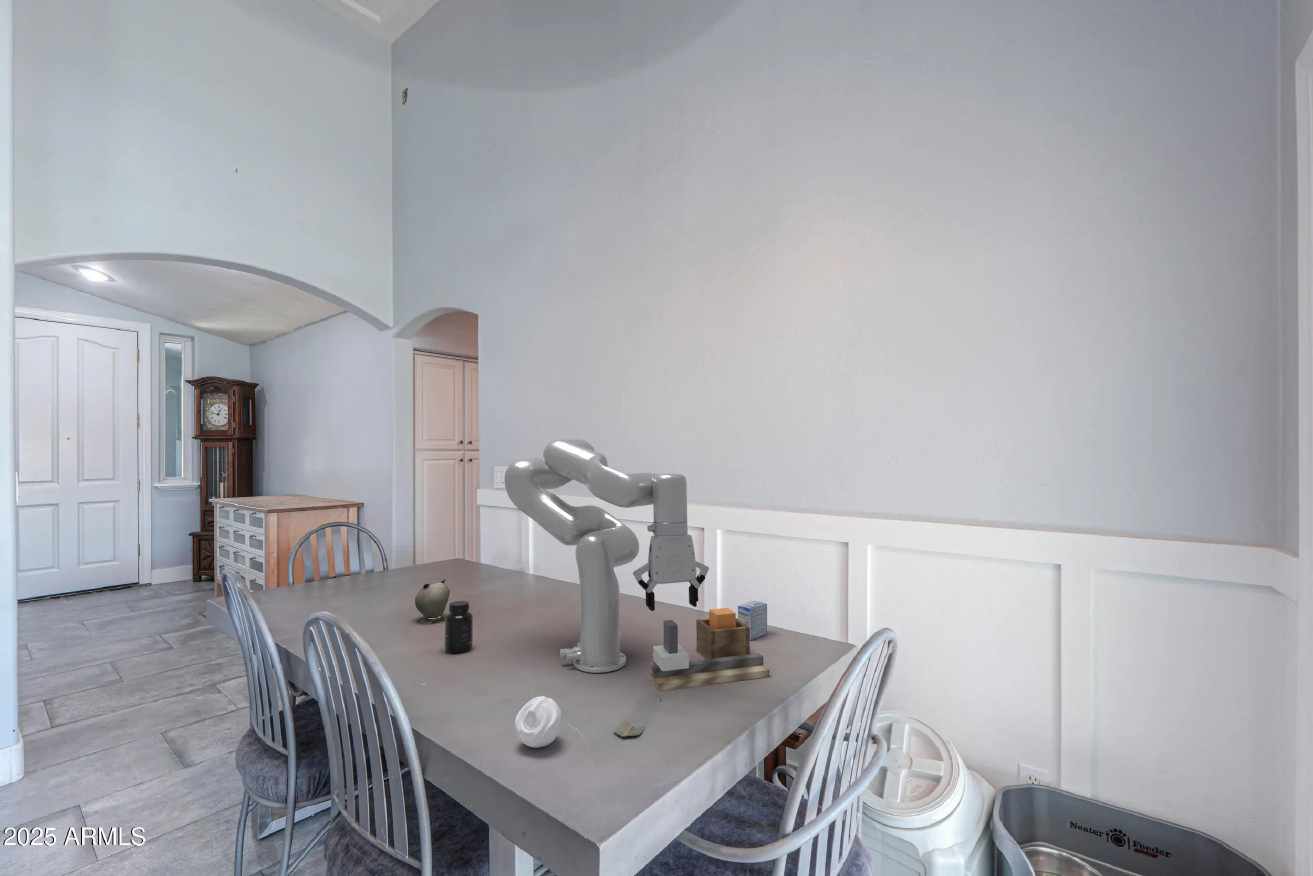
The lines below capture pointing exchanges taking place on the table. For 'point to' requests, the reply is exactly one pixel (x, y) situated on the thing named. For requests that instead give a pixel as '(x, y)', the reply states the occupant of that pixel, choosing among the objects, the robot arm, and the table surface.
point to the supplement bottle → (458, 628)
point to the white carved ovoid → (538, 722)
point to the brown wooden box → (722, 640)
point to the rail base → (710, 672)
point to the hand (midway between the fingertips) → (672, 607)
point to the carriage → (670, 650)
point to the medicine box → (754, 617)
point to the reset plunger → (722, 618)
